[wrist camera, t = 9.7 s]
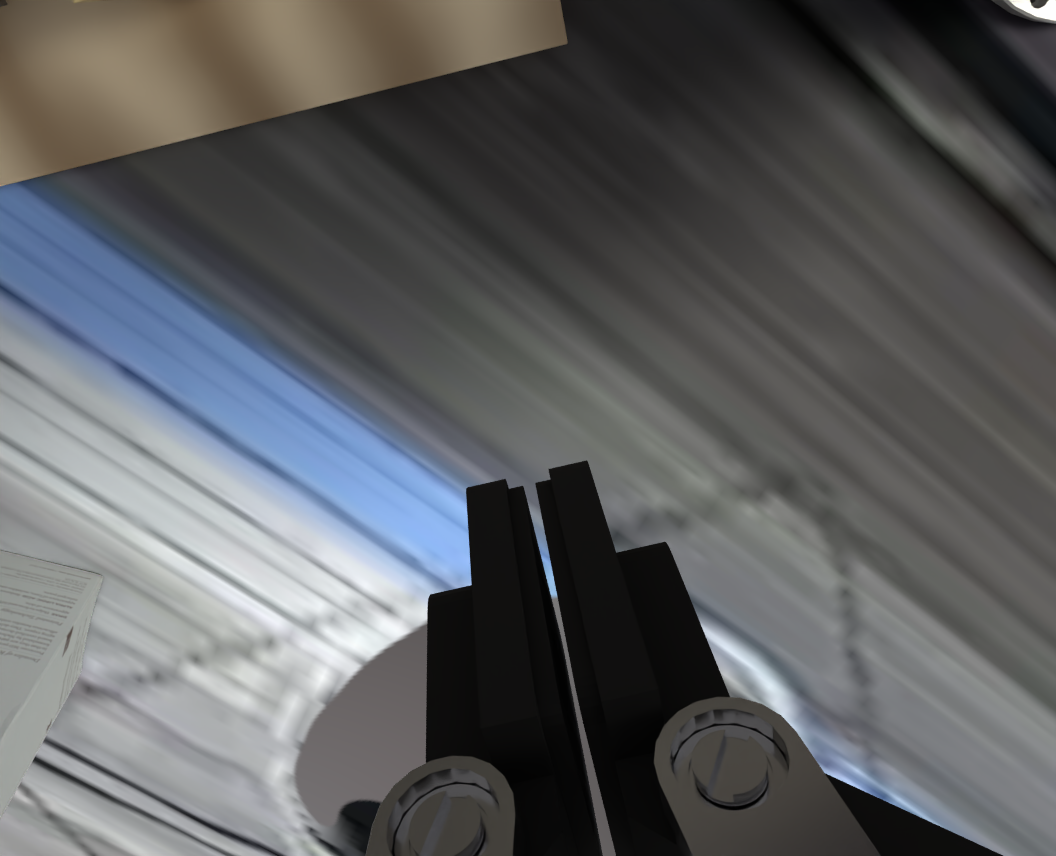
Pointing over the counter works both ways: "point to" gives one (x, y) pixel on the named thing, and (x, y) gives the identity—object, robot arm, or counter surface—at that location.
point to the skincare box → (37, 654)
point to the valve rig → (224, 65)
